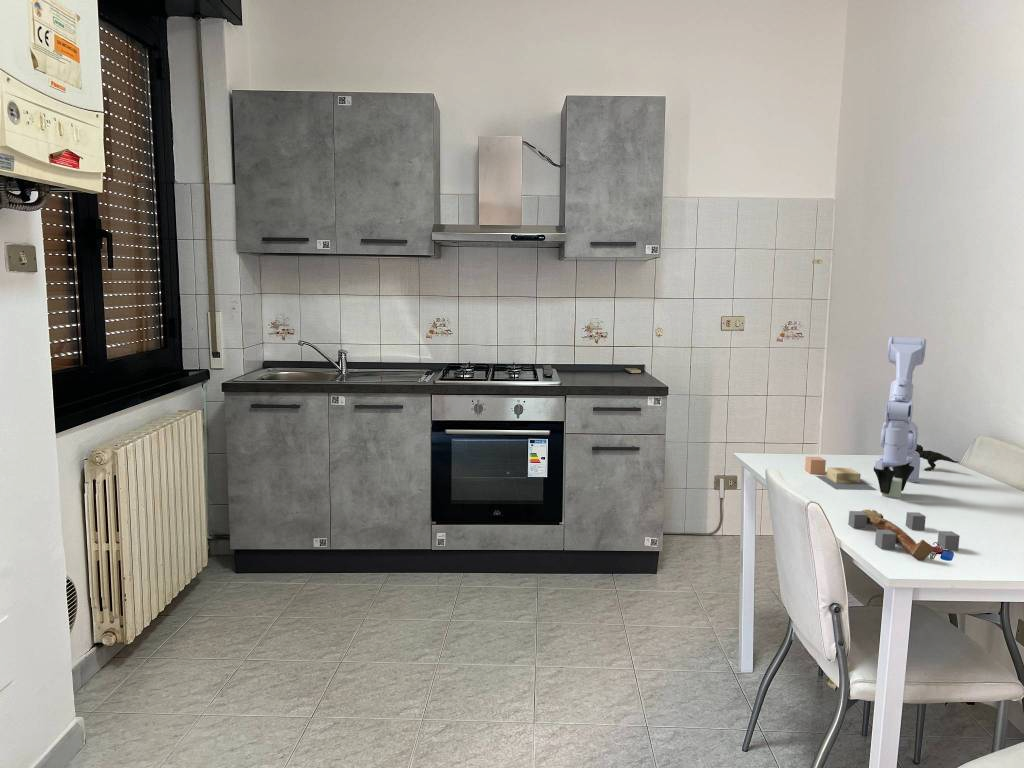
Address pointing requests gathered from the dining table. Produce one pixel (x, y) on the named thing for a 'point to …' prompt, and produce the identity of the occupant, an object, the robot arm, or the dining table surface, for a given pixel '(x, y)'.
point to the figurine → (899, 535)
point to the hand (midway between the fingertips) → (891, 491)
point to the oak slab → (843, 475)
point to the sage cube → (895, 488)
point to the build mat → (846, 484)
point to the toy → (932, 457)
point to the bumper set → (913, 521)
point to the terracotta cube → (815, 465)
